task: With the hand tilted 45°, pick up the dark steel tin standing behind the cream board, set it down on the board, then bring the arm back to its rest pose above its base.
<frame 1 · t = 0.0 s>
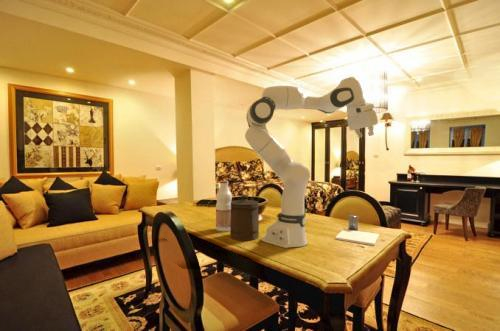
hand: (365, 136, 125), 52 cm above the table, tool tilted 20°, fingers open, 8 cm apart
wooden container: (244, 236, 132), on the table
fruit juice: (224, 229, 144), on the table
steel tin: (353, 229, 144), on the table
cream board: (357, 237, 130), on the table
plant pot: (299, 223, 160), on the table
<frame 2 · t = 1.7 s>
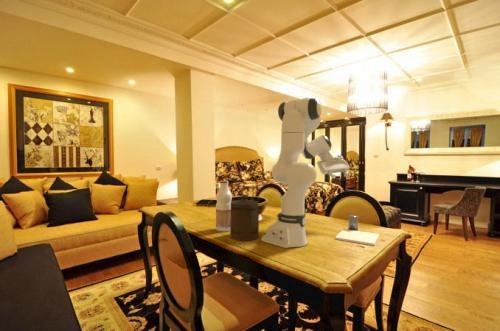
hand: (340, 177, 152), 30 cm above the table, tool tilted 45°, fingers open, 8 cm apart
nothing on the table moved.
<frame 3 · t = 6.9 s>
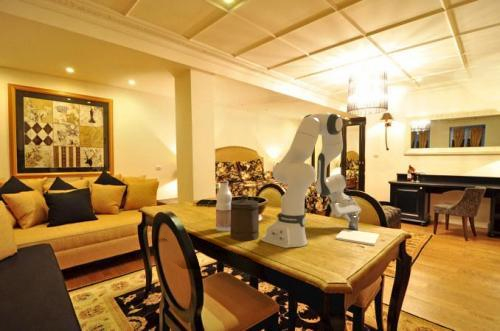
hand: (354, 220, 143), 5 cm above the table, tool tilted 45°, fingers closed on steel tin, 5 cm apart
steel tin: (353, 229, 144), on the table, touching gripper
everything else where it was.
when the fingers open (8 cm above the table, at t = 12.1 s): steel tin drops 1 cm, resting on cream board.
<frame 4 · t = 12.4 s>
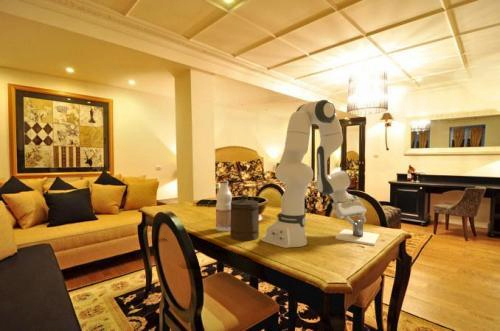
hand: (359, 222, 129), 8 cm above the table, tool tilted 45°, fingers open, 8 cm apart
steel tin: (357, 235, 130), point 1 cm above the table, touching cream board
everything else where it was.
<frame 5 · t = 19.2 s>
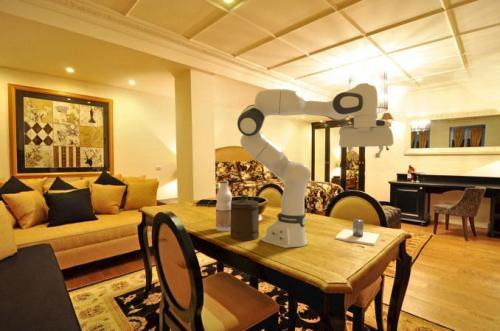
hand: (365, 157, 103), 41 cm above the table, tool pointing down, fingers open, 8 cm apart
nothing on the table moved.
at the end: steel tin inside the target area on the cream board (0.0 cm from its centre), point 1.1 cm above the cream board's base; steel tin tilted 1°; the gripper is holding nothing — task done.
